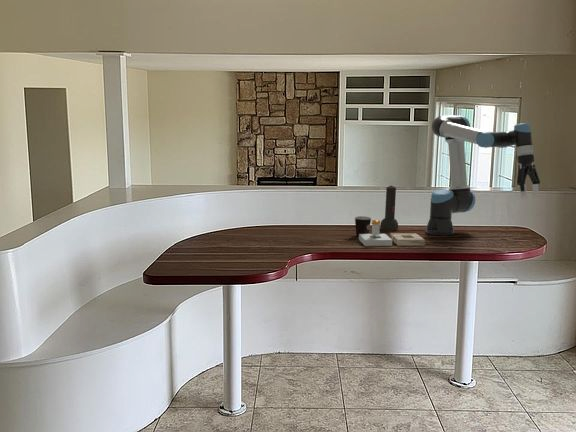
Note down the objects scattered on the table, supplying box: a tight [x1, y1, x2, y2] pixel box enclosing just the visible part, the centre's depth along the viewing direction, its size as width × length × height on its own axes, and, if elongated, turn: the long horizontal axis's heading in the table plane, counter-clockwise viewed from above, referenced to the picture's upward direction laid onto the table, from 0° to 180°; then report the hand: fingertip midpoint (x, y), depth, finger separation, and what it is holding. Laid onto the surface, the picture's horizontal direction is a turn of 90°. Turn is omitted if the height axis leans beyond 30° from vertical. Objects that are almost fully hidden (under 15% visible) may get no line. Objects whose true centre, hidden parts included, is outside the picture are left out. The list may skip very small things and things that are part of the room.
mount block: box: [358, 233, 393, 247], centre depth 328 cm, size 14×14×3 cm
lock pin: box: [371, 219, 381, 238], centre depth 327 cm, size 4×4×12 cm
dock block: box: [389, 232, 426, 247], centre depth 330 cm, size 14×14×3 cm
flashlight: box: [380, 185, 399, 232], centre depth 358 cm, size 10×25×10 cm
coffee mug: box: [354, 215, 372, 238], centre depth 341 cm, size 12×9×10 cm
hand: (530, 197), depth 313 cm, fingers open, 13 cm apart
